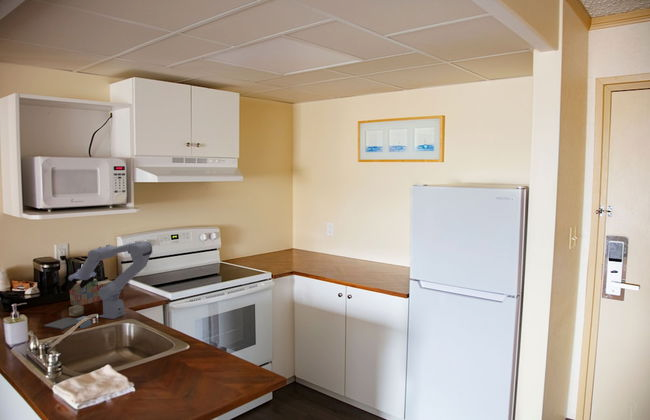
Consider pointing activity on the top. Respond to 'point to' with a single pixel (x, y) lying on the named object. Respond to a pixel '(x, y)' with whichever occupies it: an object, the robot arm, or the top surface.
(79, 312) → the maple block
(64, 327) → the baseplate
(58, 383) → the top surface
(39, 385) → the top surface
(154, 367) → the top surface
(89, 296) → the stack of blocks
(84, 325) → the blue block
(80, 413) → the top surface
